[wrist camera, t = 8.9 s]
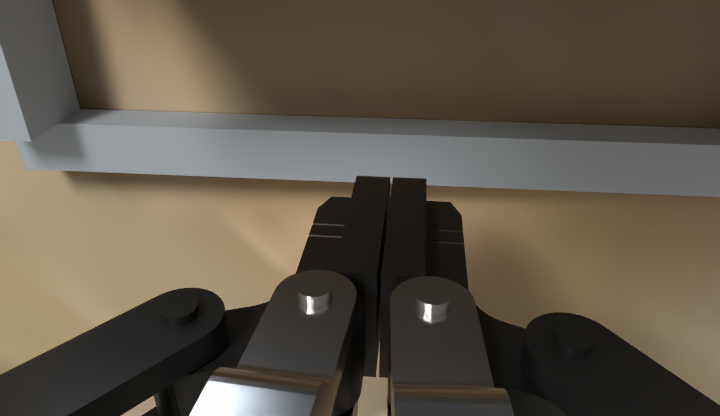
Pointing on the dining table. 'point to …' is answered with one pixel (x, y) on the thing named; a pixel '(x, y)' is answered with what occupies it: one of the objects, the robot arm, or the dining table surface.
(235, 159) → the vise body
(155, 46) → the dining table surface
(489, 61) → the dining table surface
